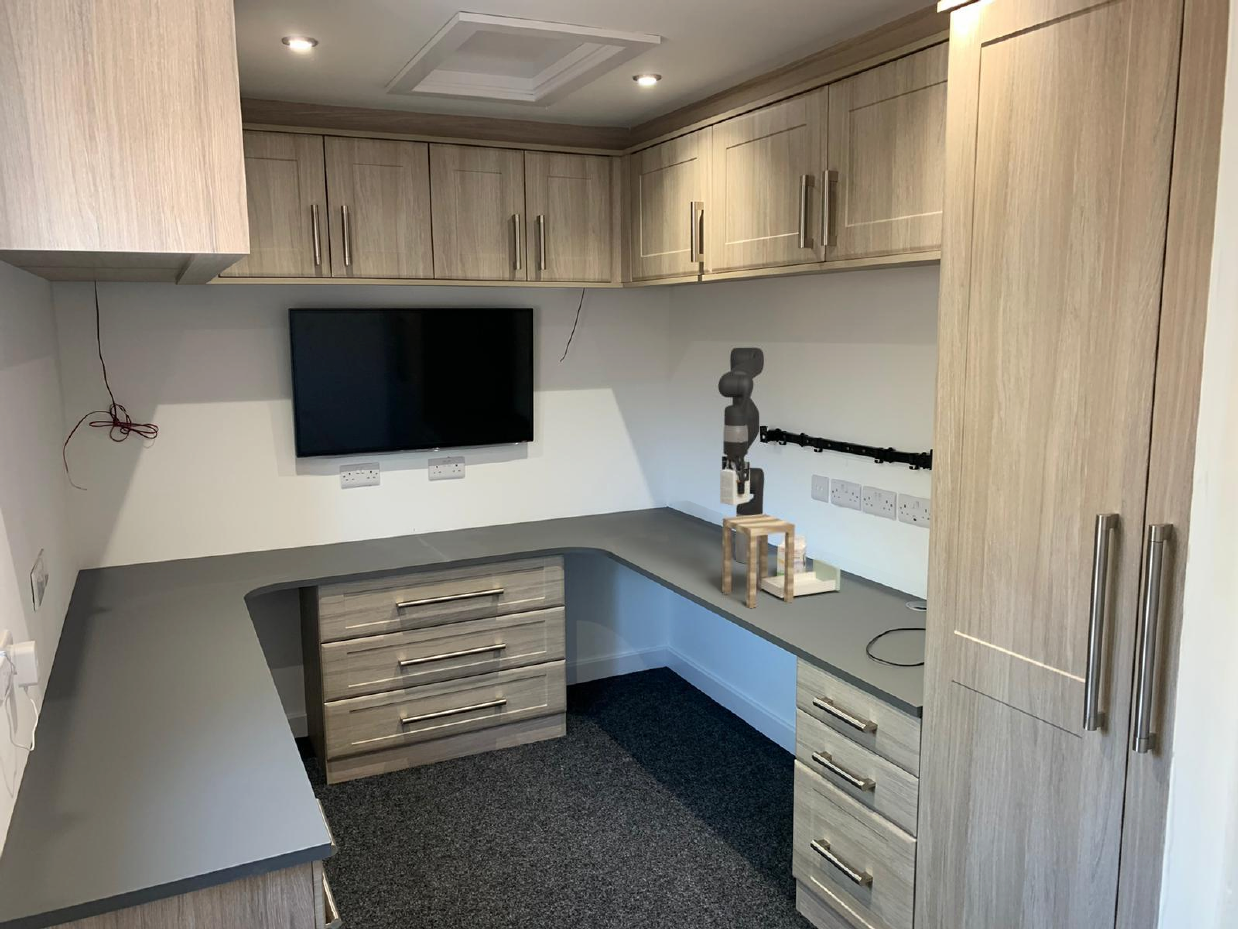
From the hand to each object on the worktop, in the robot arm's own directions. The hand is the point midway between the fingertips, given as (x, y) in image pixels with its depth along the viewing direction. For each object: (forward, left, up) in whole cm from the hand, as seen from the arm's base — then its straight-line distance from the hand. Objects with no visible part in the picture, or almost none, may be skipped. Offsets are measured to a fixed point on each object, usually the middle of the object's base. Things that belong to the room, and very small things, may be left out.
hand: (735, 491), depth 290 cm
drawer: (+11, +17, -30) cm, 37 cm away
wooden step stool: (+11, +2, -31) cm, 33 cm away
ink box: (-1, +22, -32) cm, 39 cm away
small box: (0, 0, -4) cm, 4 cm away
